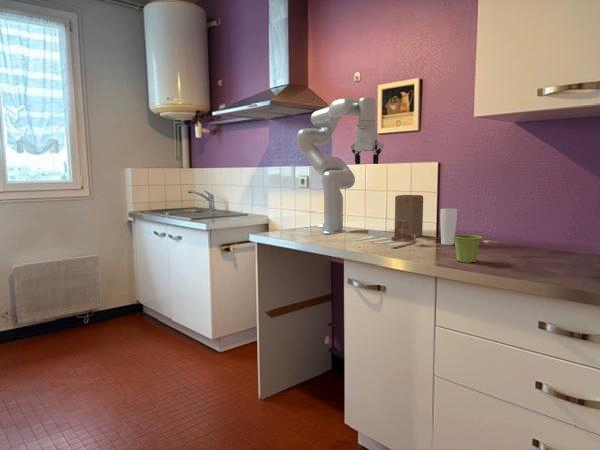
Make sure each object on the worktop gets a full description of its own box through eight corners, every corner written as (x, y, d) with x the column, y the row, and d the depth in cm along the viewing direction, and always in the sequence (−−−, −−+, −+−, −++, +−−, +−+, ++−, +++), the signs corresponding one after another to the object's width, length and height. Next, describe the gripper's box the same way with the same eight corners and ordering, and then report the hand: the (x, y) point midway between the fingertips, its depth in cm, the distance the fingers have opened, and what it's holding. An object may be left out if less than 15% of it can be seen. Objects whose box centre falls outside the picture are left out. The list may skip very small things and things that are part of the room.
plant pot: (452, 258, 156) (452, 233, 155) (480, 259, 153) (481, 235, 152) (450, 263, 147) (451, 237, 146) (481, 265, 144) (482, 238, 143)
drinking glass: (458, 245, 182) (459, 209, 180) (442, 245, 182) (443, 209, 180) (452, 243, 189) (453, 208, 187) (436, 243, 189) (438, 208, 187)
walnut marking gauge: (391, 240, 187) (392, 220, 186) (397, 239, 190) (398, 219, 189) (404, 241, 183) (404, 221, 182) (410, 240, 186) (410, 220, 185)
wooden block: (414, 241, 194) (415, 196, 192) (393, 239, 200) (394, 195, 198) (423, 238, 202) (424, 195, 200) (402, 236, 208) (403, 194, 206)
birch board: (349, 243, 190) (349, 233, 190) (370, 238, 202) (370, 230, 202) (396, 248, 175) (396, 239, 174) (415, 244, 187) (415, 234, 186)
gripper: (346, 126, 201) (346, 164, 203) (379, 123, 189) (378, 163, 191) (356, 127, 206) (355, 164, 208) (388, 124, 195) (387, 163, 197)
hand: (366, 163), depth 200 cm, fingers open, 9 cm apart
